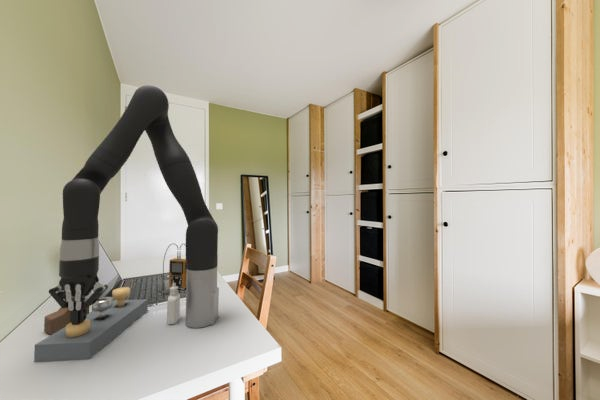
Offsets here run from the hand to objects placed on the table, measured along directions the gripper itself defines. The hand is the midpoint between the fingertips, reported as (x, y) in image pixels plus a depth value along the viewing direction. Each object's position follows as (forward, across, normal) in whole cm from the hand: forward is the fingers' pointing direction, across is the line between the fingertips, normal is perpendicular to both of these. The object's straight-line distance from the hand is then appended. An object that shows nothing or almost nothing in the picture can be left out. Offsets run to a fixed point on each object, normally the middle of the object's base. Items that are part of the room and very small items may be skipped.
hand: (78, 323), depth 61 cm
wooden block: (+7, +12, -12) cm, 19 cm away
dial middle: (+4, 0, -8) cm, 9 cm away
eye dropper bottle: (+7, -18, -14) cm, 24 cm away
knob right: (+4, 0, -17) cm, 17 cm away
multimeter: (+7, -7, -39) cm, 41 cm away
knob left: (+6, 0, 0) cm, 6 cm away
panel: (+7, 0, -8) cm, 11 cm away
